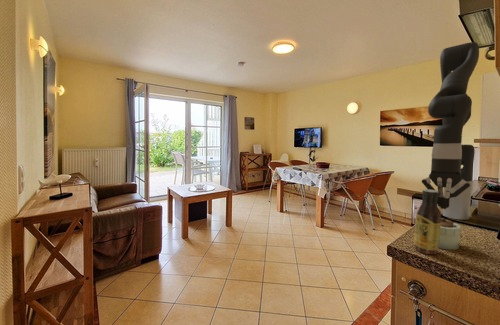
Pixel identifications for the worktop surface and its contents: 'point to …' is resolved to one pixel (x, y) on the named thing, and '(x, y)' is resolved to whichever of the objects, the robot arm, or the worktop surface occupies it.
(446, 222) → the lid
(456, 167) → the robot arm
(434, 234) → the sauce bottle
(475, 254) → the worktop surface
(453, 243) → the jar
